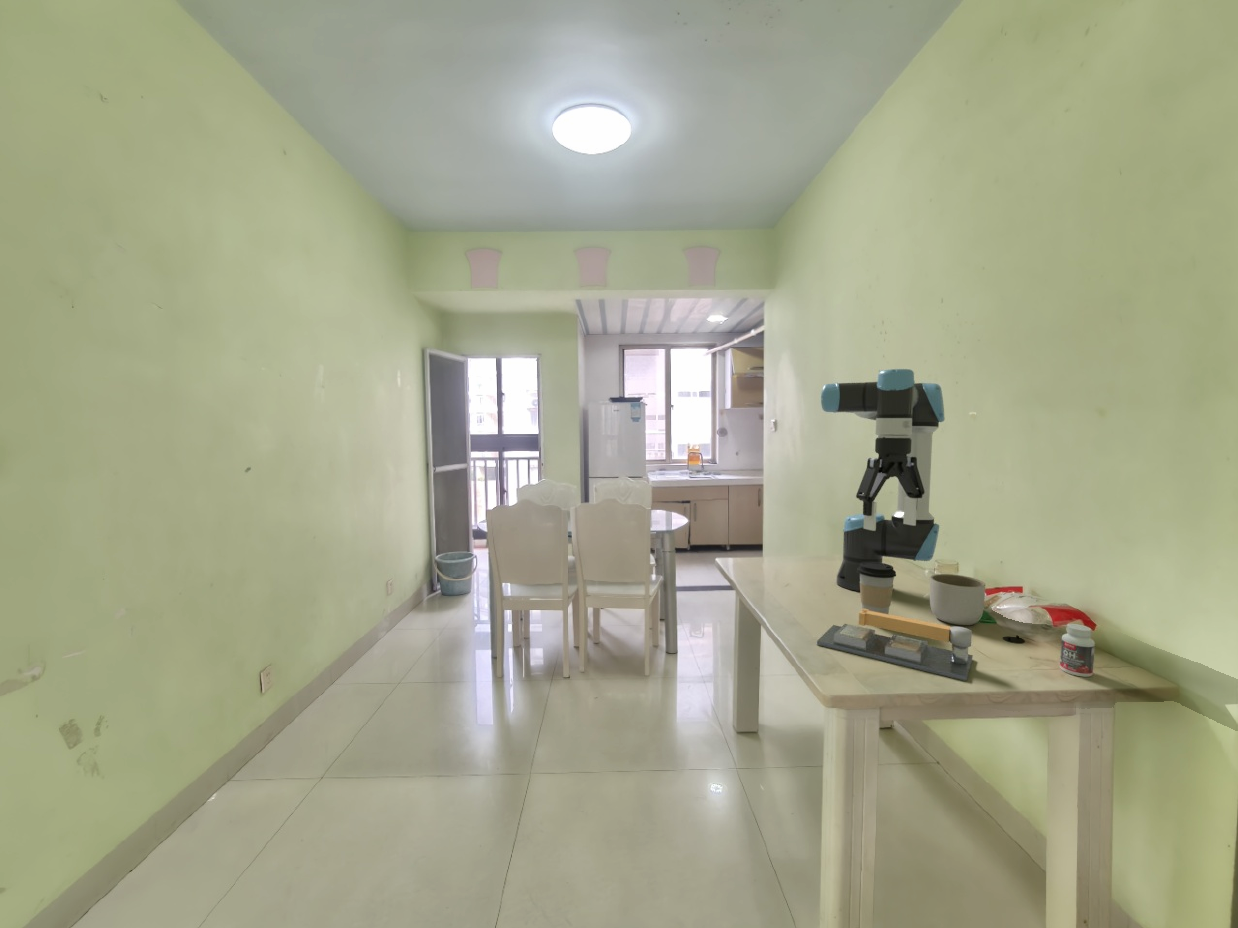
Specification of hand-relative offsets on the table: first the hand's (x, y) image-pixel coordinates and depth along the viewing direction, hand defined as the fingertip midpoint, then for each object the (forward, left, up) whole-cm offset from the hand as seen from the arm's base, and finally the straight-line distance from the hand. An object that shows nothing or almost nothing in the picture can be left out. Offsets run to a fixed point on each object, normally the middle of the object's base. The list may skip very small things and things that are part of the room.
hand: (889, 527), depth 128 cm
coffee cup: (-14, -6, -28) cm, 32 cm away
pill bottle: (-8, +35, -28) cm, 46 cm away
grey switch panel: (+5, +2, -28) cm, 29 cm away
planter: (-28, +11, -28) cm, 42 cm away
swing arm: (+4, +6, -23) cm, 24 cm away
